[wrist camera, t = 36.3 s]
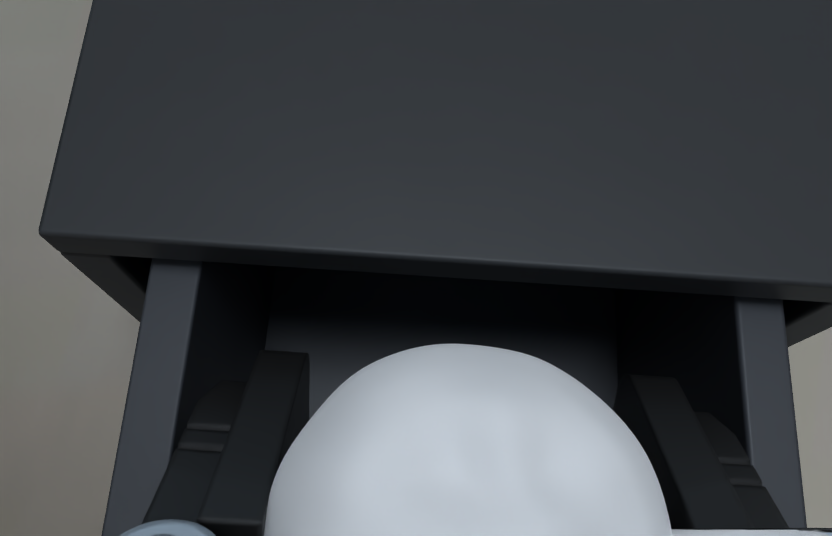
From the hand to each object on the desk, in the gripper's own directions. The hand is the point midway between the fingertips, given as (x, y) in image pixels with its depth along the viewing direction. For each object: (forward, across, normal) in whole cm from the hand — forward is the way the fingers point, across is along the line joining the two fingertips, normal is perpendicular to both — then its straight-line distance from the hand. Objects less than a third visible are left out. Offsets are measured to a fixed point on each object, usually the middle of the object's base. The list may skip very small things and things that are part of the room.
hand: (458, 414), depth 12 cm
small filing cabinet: (+12, 0, -1) cm, 12 cm away
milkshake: (+2, 0, +5) cm, 6 cm away
